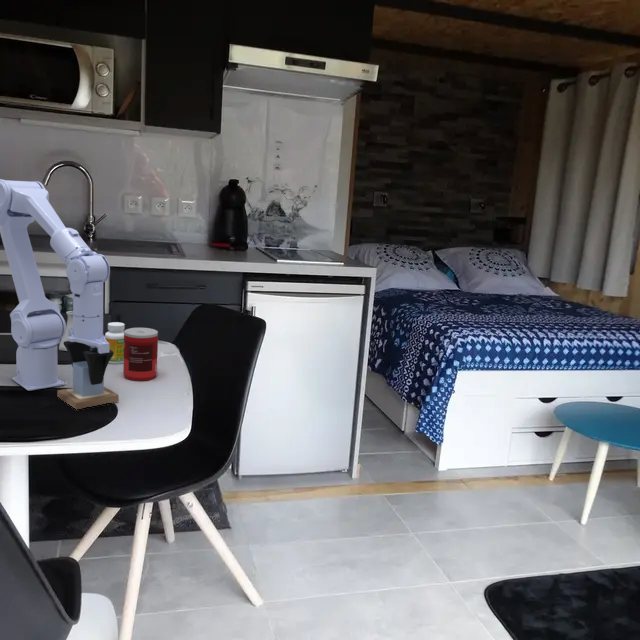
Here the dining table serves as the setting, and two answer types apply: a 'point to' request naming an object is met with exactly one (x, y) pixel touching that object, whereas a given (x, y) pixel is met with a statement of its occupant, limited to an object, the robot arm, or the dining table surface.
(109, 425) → the dining table surface
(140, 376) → the canned food
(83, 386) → the block
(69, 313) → the flask
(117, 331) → the supplement bottle
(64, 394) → the plinth
